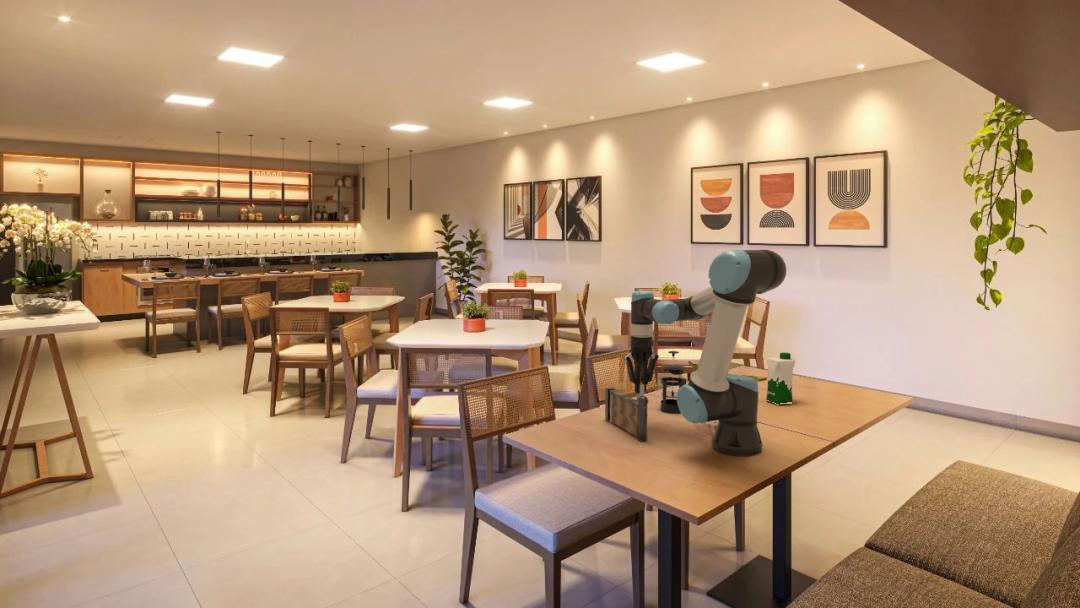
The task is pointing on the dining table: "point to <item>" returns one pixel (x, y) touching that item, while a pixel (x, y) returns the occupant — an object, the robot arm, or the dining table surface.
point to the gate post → (642, 419)
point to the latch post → (607, 403)
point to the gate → (624, 411)
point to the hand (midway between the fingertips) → (640, 401)
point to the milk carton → (780, 378)
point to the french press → (671, 404)
